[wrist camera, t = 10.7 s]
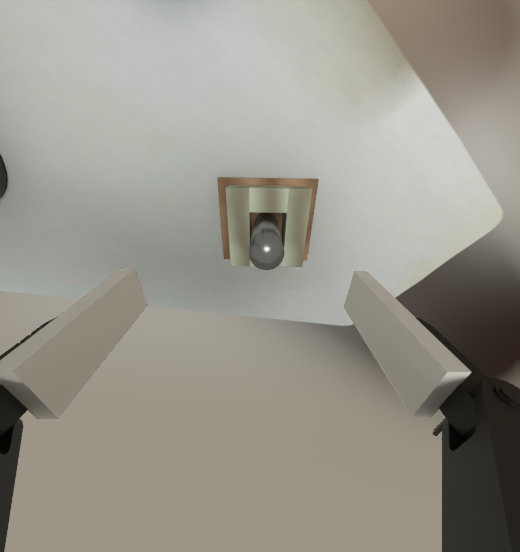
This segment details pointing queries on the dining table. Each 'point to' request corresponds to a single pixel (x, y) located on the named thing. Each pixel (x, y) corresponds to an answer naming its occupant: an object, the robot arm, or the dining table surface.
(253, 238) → the peg
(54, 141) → the dining table surface
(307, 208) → the socket
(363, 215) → the dining table surface
